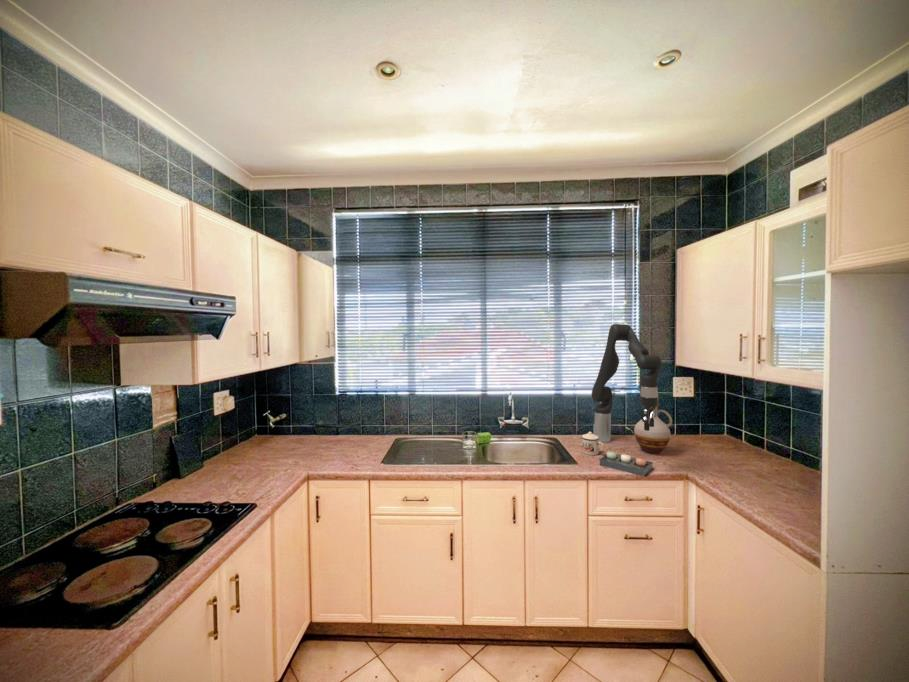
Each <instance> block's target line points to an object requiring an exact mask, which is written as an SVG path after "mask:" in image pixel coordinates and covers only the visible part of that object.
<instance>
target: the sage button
mask: <svg viewBox="0 0 909 682" xmlns="http://www.w3.org/2000/svg"><path fill="white" fill-rule="evenodd" d="M606 454H607V458H608V459H613V460H616V454H617V452H616V451H613V450H608V451H606Z"/></svg>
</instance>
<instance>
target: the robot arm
mask: <svg viewBox="0 0 909 682" xmlns="http://www.w3.org/2000/svg"><path fill="white" fill-rule="evenodd" d="M617 341H626V342H628V346H627V347H628V351H629V353H630V354H631V355H632V357H634V359H635V361H636V362H635V363H636V366H637V367H638V369H640V370H647V371H648V372H647V373H645V374H641V377H640V389H639V391H640V395H639V396H640V398H639V399H640V405H641V406H643V407H644V408H643V409H642V410H641V411H642V419H641V420H642V422H644V430H646V431H649V430H650V427H654V419H655V417H656V412H655V406H658V404H659V401H658V398H659V392H658V377H659V373H660V371H661V368H662V359H661V358H660V356H658V355H656V354H650V351H649V350H648V349H647V347H645V345H643V344H642V342H641V341H640V340H639V338H638V336H637V334H636V333H635V331H634V329H633V328H632V327H631V326H630V325H629V324H625V323H624V324H620V323H612V325H611V326H610V327H609V331H608V335H607V340H606V346H605V350H604V353H603V358H602V360H601V363H600V368H599V370H598V374H597V377H596V380H595V382H594V385H593V387H592V389H591V399H592V400H593V401H594V402H596V403H597V402H598V403H600V404H599V405H596V406H595V407H594V423H593V429H592V430H593V432H592V434H594V435H596V436H598V437H599V442H602V443H608V442H611V440H612V433H611V431H612V428H611V427H612V419H611V418H612V416H611V415H612V409H613V408H612V407H613V392H612V391H613V390H612V388H611V387H610V386H607V383H608V382H609V380H611V378H612V377H613V376H614V375H615V374H616V372H617V371H618V368H619V365H620V358H619V355H618V353H617V351H616V343H617ZM658 407H659V406H658ZM646 419H647V420H646Z"/></svg>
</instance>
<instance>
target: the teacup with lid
mask: <svg viewBox="0 0 909 682" xmlns="http://www.w3.org/2000/svg"><path fill="white" fill-rule="evenodd" d="M599 445H601V448H599ZM604 448H605V445H604V442H600V441H599V437H598V436H596V435H594V434H593V432H592V431H588V432H587V433H584V434H582V435H581V452H582V454H585V455H588V456H597V455H599V452H601V451H602V450H604Z"/></svg>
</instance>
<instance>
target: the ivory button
mask: <svg viewBox="0 0 909 682" xmlns="http://www.w3.org/2000/svg"><path fill="white" fill-rule="evenodd" d="M620 455H621V462H625V463H629V464H630V463H631V458H632V457H631V455H630V454H625V453H623V454H622V453H621V454H620Z"/></svg>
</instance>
